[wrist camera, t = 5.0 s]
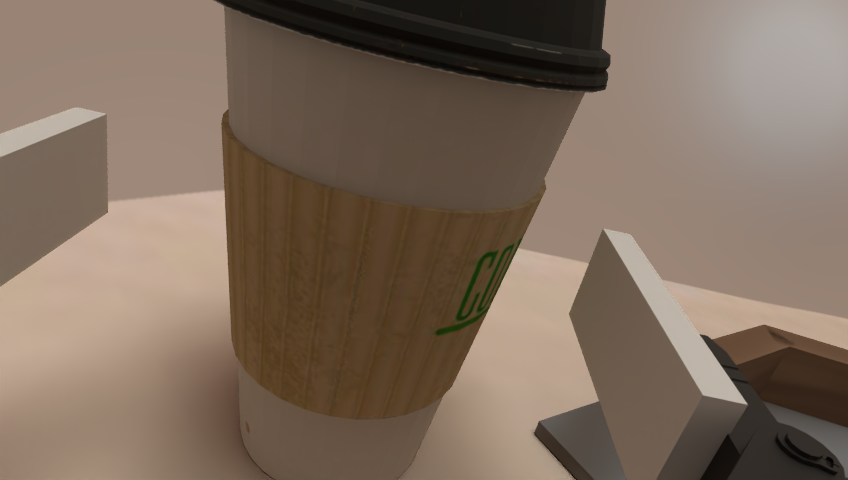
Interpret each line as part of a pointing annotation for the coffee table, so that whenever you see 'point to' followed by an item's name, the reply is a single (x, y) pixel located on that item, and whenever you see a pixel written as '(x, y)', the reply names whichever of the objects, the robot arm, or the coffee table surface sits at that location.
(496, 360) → the coffee table surface
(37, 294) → the coffee table surface
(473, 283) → the coffee cup
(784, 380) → the cup collar
